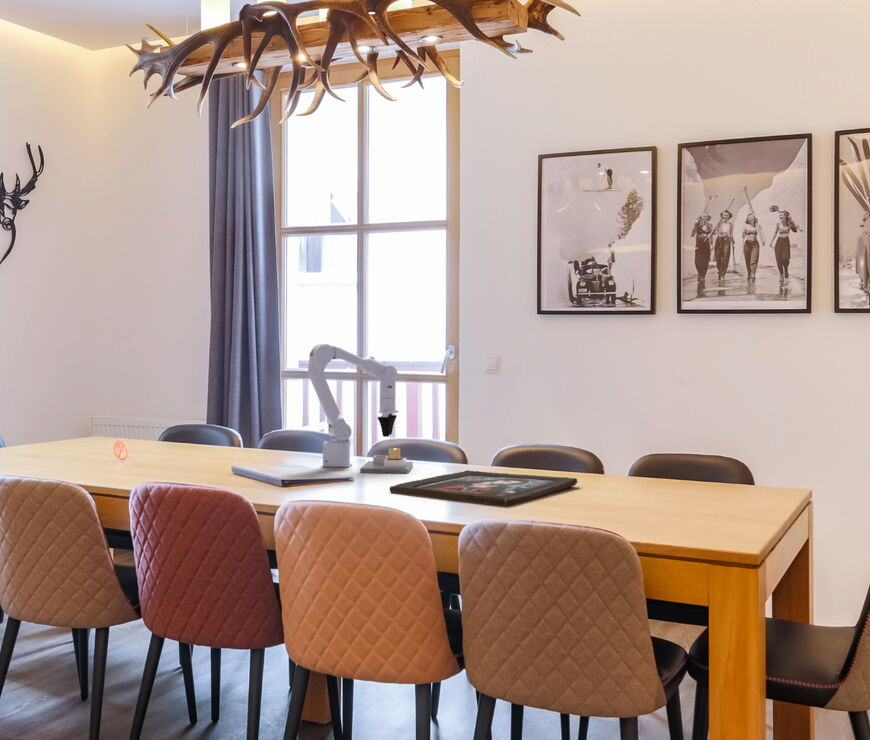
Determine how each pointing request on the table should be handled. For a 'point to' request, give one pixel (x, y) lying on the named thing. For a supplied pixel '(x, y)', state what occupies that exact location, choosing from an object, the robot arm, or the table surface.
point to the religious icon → (484, 487)
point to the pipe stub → (394, 453)
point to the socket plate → (386, 465)
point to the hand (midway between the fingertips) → (387, 435)
